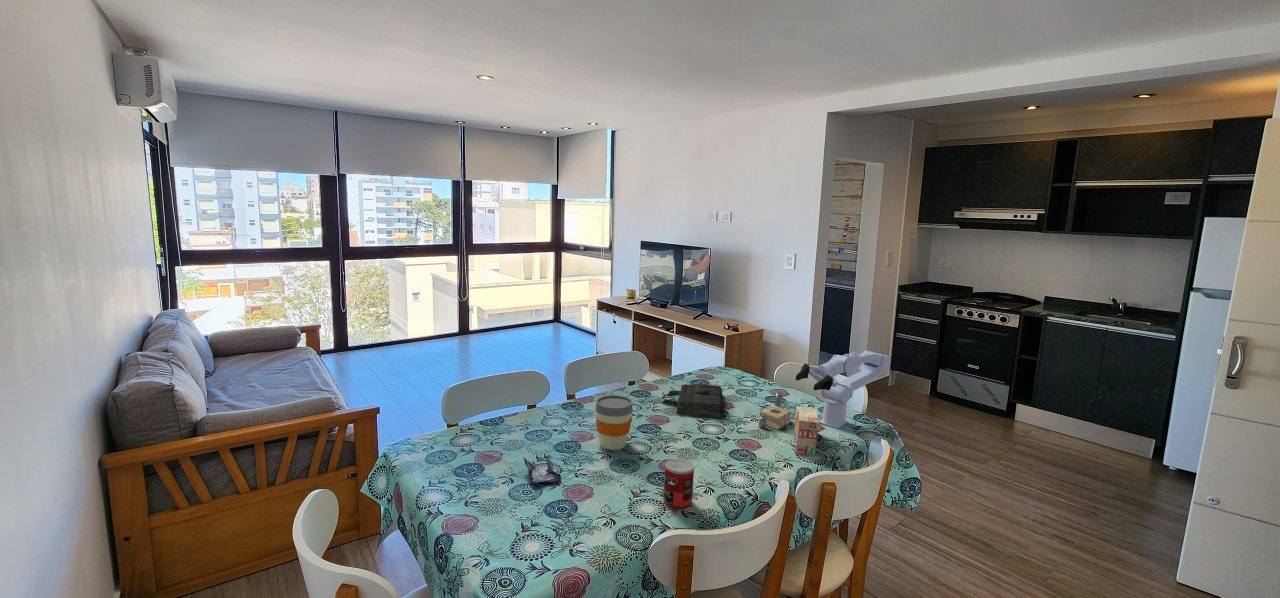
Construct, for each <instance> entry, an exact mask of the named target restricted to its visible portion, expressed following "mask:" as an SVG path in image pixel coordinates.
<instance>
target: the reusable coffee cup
mask: <svg viewBox="0 0 1280 598" xmlns="http://www.w3.org/2000/svg"><path fill="white" fill-rule="evenodd" d="M596 399H597V400H596V402H595V408H594V410H595V412H596V416H595V423H596V431H597V432H598V441H599V445H600V447H601V448H603V449H605V450H612V451H613V450H614V451H615V450H621V449H624V448H625V447H626V446H627V441H628V435H629V433H630V430H631V426H632V419H633V418H632V417H633V416H632V413H633V411H634V410H633V409H634V408H633V400H632V399H631V398H629V397H627V396H623V395H615V394H614V395H612V394H611V395H605V396H600V397H598V398H596Z"/></svg>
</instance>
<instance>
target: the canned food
mask: <svg viewBox="0 0 1280 598" xmlns="http://www.w3.org/2000/svg"><path fill="white" fill-rule="evenodd" d="M663 474H664V477H663V478H664V479H663V495H662V496H663V497H662V498H663V502H664V505H666V506H667V507H669V508H672V509H678V510H679V509H680V510H681V509H686V508H688V507H690V506H691V505H692V502H693V491H694V490H693V489H694V474H695V465H694V464H693V462H691V461H689V460H686V459H682V458H673V459H669V460H666V462H665V465H664V473H663Z"/></svg>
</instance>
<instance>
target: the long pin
mask: <svg viewBox="0 0 1280 598" xmlns="http://www.w3.org/2000/svg"><path fill="white" fill-rule="evenodd" d="M774 402H775V403H774V406H777V407H780V408H782V403H783V393H782V392H776V393H775V401H774Z"/></svg>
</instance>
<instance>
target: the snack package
mask: <svg viewBox="0 0 1280 598" xmlns="http://www.w3.org/2000/svg"><path fill="white" fill-rule="evenodd" d="M544 458H545V462H546V463H547V464H546V465H547V466H546V467H547V468H544V467H541V466H540V465H539V464H537V463H532V462H530V461H529V460H528V459H527V458H526V457H523V460H524V465H525V467H526V468H527V470H528V474H529V477H530V481H531V483H532V485H536V484H538V483H545V484H546V485H551V484H552V485H553V484H555V483H559V482H561V481H562V477H561V474H558V473H557V472H556V471H555V468H554V466H555V465H554V463H553V461H552V458H550V457H549V456H546V457H544ZM539 469H541V472H542V474H541V475H542V476H543V477H541V476H540V475H539V471H540V470H539Z"/></svg>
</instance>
